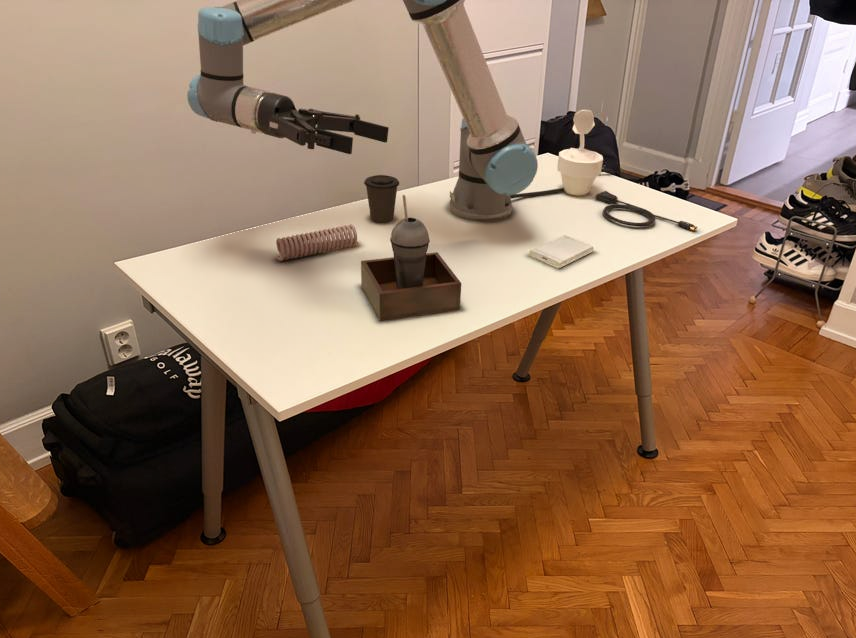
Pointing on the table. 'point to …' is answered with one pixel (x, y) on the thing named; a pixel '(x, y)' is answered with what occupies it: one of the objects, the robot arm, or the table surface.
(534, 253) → the hard drive
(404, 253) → the beverage cup
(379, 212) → the coffee cup
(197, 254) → the table surface
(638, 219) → the table surface
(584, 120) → the potted plant
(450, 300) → the box
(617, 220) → the cable
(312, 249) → the coil
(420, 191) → the table surface
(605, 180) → the table surface
